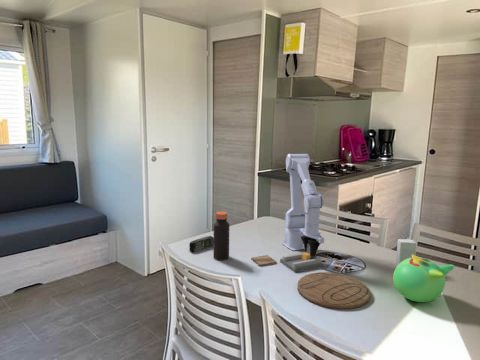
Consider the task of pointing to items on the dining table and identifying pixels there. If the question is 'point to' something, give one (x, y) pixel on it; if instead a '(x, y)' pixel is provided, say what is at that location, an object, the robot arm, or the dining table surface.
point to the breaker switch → (305, 256)
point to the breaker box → (300, 263)
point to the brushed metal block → (309, 251)
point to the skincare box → (405, 250)
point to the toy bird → (420, 279)
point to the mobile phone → (201, 243)
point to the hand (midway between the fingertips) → (310, 254)
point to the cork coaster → (263, 260)
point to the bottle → (221, 237)
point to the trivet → (333, 290)
